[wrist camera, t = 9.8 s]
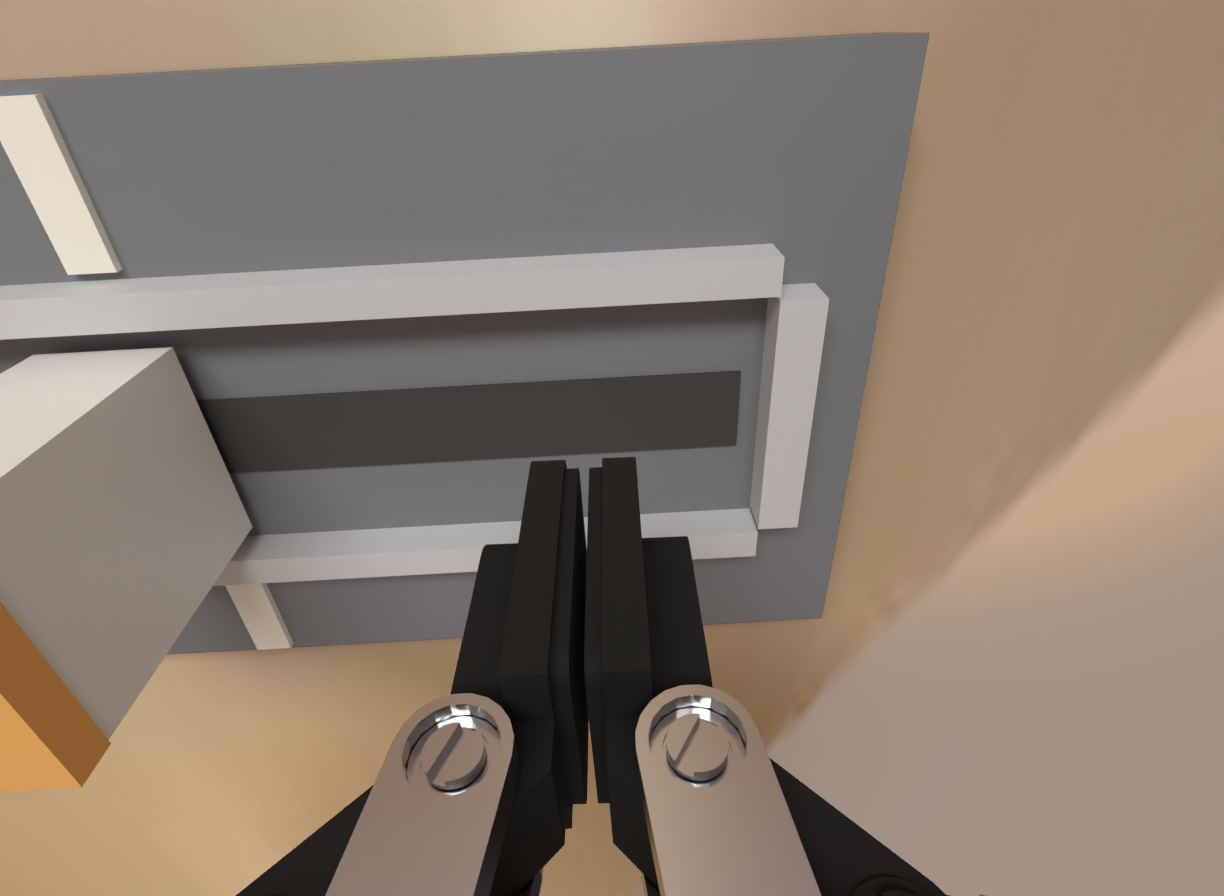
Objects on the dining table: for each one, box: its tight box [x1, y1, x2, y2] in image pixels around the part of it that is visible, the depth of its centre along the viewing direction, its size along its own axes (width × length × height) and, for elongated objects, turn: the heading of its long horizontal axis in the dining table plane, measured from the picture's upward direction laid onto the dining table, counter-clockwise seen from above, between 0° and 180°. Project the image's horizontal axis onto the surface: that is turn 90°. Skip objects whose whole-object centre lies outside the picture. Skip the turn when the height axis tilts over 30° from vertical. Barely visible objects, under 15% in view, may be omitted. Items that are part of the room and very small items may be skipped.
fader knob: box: [0, 347, 252, 792], centre depth 12 cm, size 3×5×7 cm, turn 3°
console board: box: [0, 33, 929, 654], centre depth 16 cm, size 25×15×3 cm, turn 93°
